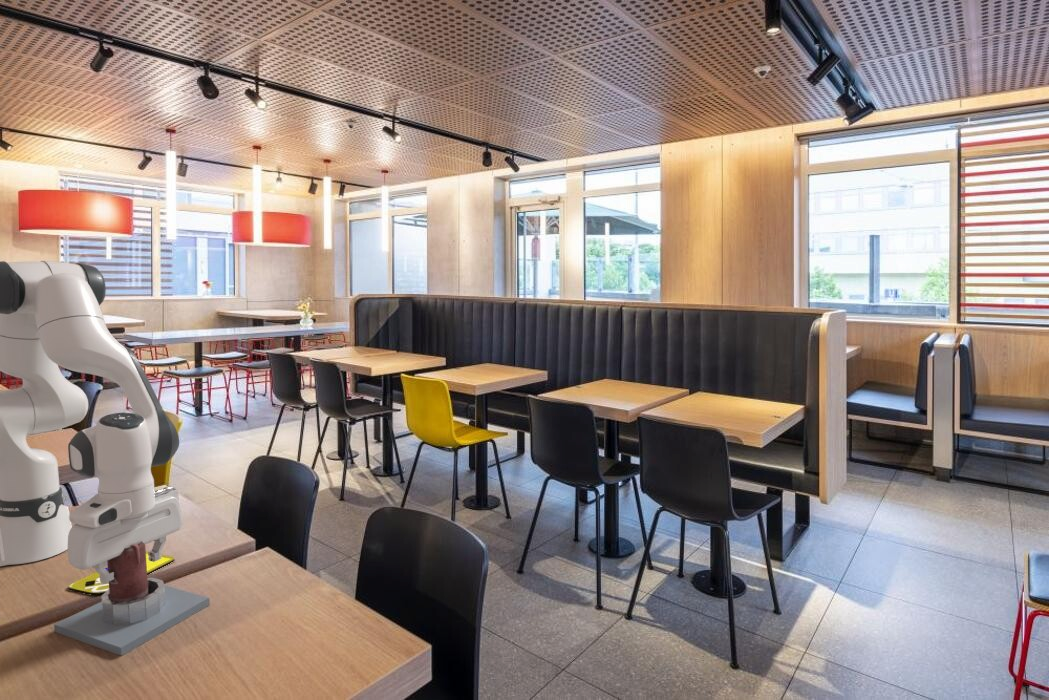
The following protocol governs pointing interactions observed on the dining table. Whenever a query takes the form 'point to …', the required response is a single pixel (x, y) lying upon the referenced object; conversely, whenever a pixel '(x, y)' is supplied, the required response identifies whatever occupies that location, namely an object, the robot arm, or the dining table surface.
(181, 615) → the base board
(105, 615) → the ring holder
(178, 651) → the dining table surface
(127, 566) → the can
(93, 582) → the game console
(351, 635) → the dining table surface
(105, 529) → the robot arm
